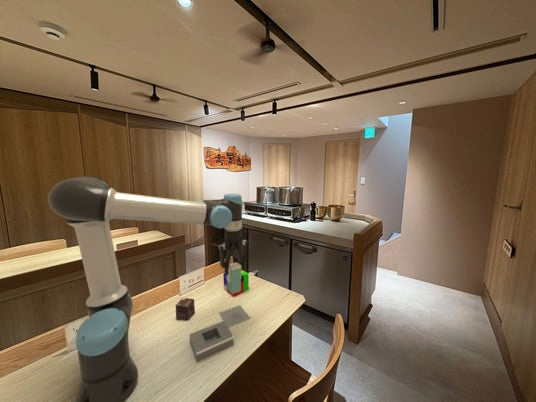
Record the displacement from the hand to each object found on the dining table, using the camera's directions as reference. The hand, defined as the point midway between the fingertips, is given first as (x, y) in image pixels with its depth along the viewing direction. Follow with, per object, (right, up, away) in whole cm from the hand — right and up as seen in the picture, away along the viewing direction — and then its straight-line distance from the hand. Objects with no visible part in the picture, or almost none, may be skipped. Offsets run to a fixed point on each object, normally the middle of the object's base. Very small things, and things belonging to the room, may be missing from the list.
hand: (234, 279), depth 96 cm
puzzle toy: (-3, -16, +25) cm, 29 cm away
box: (-23, -18, +2) cm, 29 cm away
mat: (0, -18, +3) cm, 19 cm away
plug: (0, -5, +1) cm, 5 cm away
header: (-7, -21, -13) cm, 25 cm away
